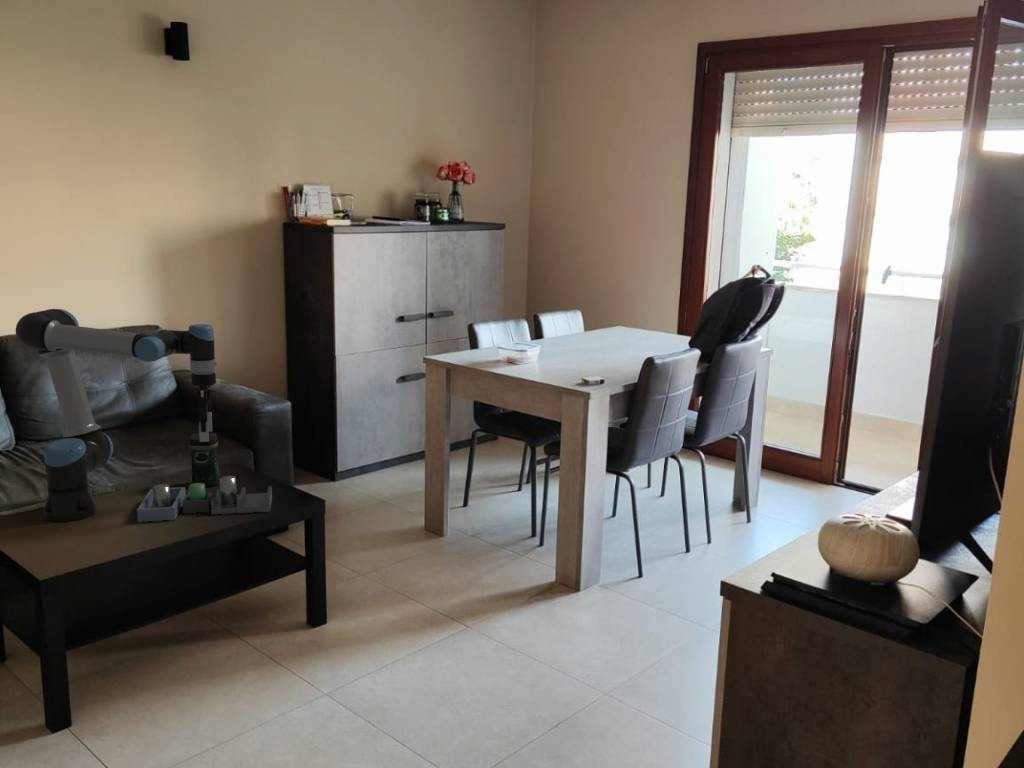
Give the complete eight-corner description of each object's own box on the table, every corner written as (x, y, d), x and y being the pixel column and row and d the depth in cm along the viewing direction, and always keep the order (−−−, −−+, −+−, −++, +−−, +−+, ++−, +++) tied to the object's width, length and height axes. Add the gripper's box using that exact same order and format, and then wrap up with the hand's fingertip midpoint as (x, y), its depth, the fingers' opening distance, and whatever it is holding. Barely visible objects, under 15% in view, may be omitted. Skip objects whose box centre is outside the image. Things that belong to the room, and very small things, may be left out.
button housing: (183, 513, 283) (182, 501, 282) (186, 505, 290) (186, 494, 290) (209, 512, 284) (208, 500, 284) (212, 504, 292) (211, 492, 291)
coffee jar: (222, 480, 318) (220, 430, 315) (216, 487, 311) (214, 436, 307) (195, 481, 318) (192, 430, 314) (188, 487, 310) (185, 436, 306)
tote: (137, 522, 274) (137, 510, 274) (151, 500, 296) (150, 488, 295) (175, 520, 277) (174, 507, 276) (185, 498, 298) (185, 487, 297)
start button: (188, 505, 284) (187, 488, 283) (190, 501, 289) (189, 483, 288) (204, 505, 285) (203, 487, 284) (206, 500, 290) (205, 482, 289)
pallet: (211, 515, 282) (210, 501, 281) (216, 501, 295) (215, 488, 294) (269, 511, 285) (269, 498, 284) (272, 498, 299) (271, 485, 298)
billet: (153, 512, 283) (151, 489, 282) (156, 508, 288) (154, 484, 287) (169, 512, 284) (168, 488, 283) (172, 507, 289) (170, 483, 288)
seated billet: (220, 504, 286) (218, 480, 285) (221, 499, 291) (220, 476, 289) (236, 503, 287) (234, 479, 286) (237, 498, 292) (236, 475, 290)
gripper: (212, 379, 274) (215, 445, 278) (218, 365, 298) (220, 427, 302) (186, 379, 272) (190, 446, 276) (194, 366, 296) (197, 427, 300)
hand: (206, 436), depth 289 cm, fingers open, 13 cm apart
